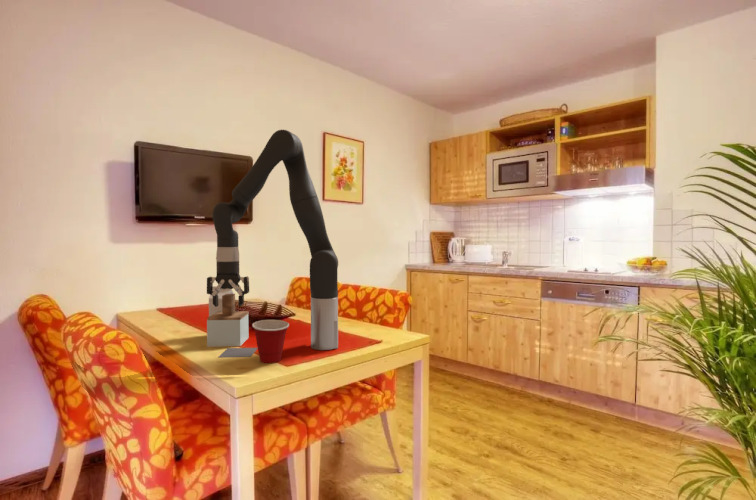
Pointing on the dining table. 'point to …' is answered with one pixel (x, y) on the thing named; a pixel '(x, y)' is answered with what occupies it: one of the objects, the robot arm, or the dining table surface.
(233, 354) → the mat
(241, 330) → the grey storage bin
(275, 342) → the plastic cup
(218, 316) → the wooden t-shaped stand
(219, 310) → the milk carton
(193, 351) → the dining table surface
